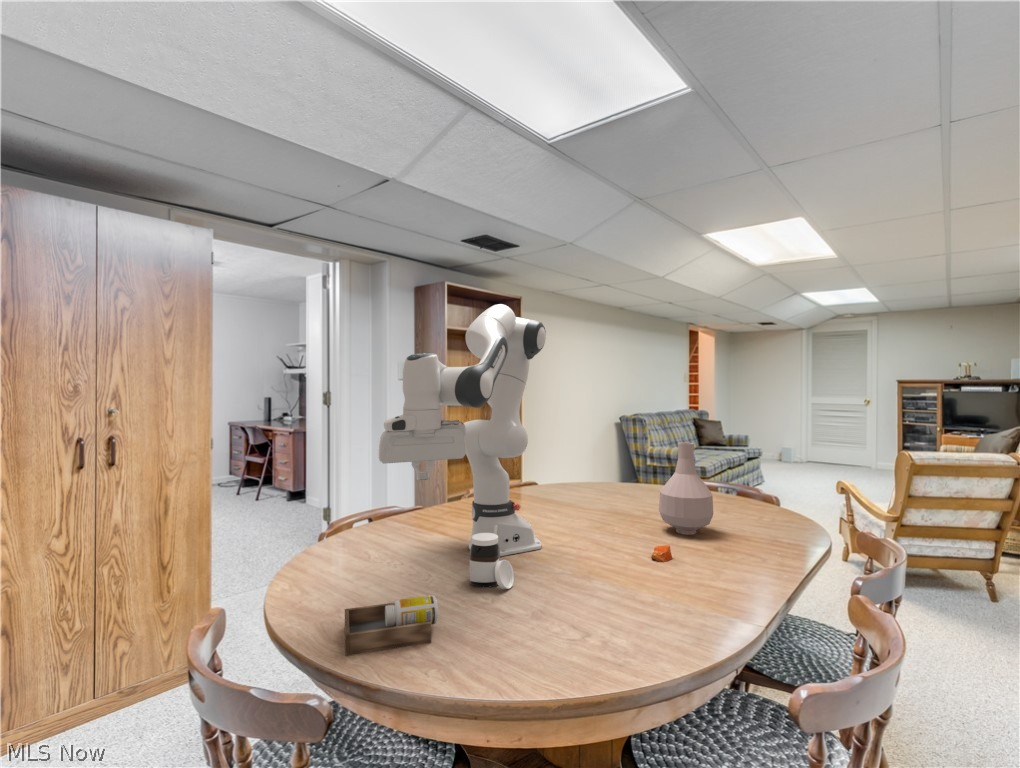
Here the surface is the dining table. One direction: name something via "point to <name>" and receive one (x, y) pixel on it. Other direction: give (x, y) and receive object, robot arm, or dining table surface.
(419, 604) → the supplement bottle
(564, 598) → the dining table surface
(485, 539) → the spread jar
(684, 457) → the vase
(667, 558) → the rock
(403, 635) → the tray
